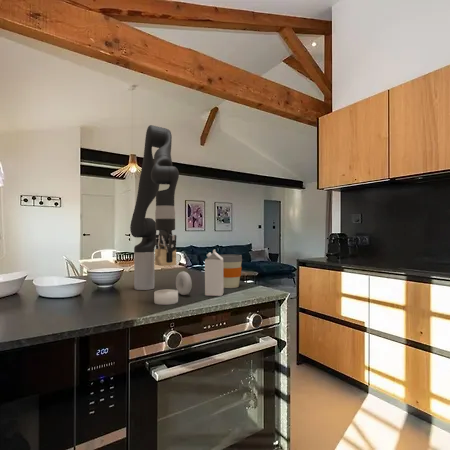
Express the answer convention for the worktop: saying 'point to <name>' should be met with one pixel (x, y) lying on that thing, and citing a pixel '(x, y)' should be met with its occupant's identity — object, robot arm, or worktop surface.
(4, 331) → the worktop surface
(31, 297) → the worktop surface
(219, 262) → the milk carton
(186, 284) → the donut
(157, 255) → the maple cube
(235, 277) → the reusable coffee cup
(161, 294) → the pedestal
